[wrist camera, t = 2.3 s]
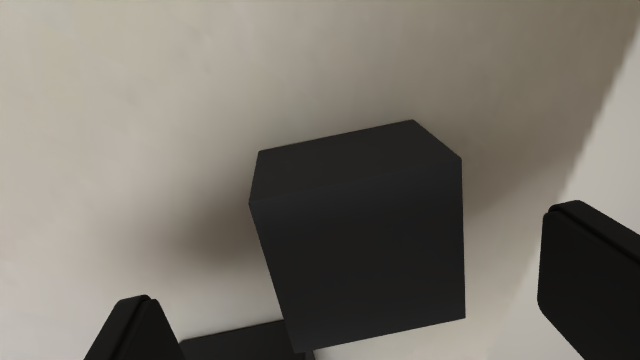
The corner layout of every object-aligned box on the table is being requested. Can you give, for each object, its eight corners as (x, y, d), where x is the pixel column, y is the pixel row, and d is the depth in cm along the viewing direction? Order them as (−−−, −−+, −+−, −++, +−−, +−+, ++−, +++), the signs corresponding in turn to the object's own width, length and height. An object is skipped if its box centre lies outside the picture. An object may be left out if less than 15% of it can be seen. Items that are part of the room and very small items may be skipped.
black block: (413, 118, 12) (462, 158, 8) (423, 248, 14) (466, 318, 10) (257, 151, 12) (247, 202, 8) (292, 275, 14) (294, 354, 10)
